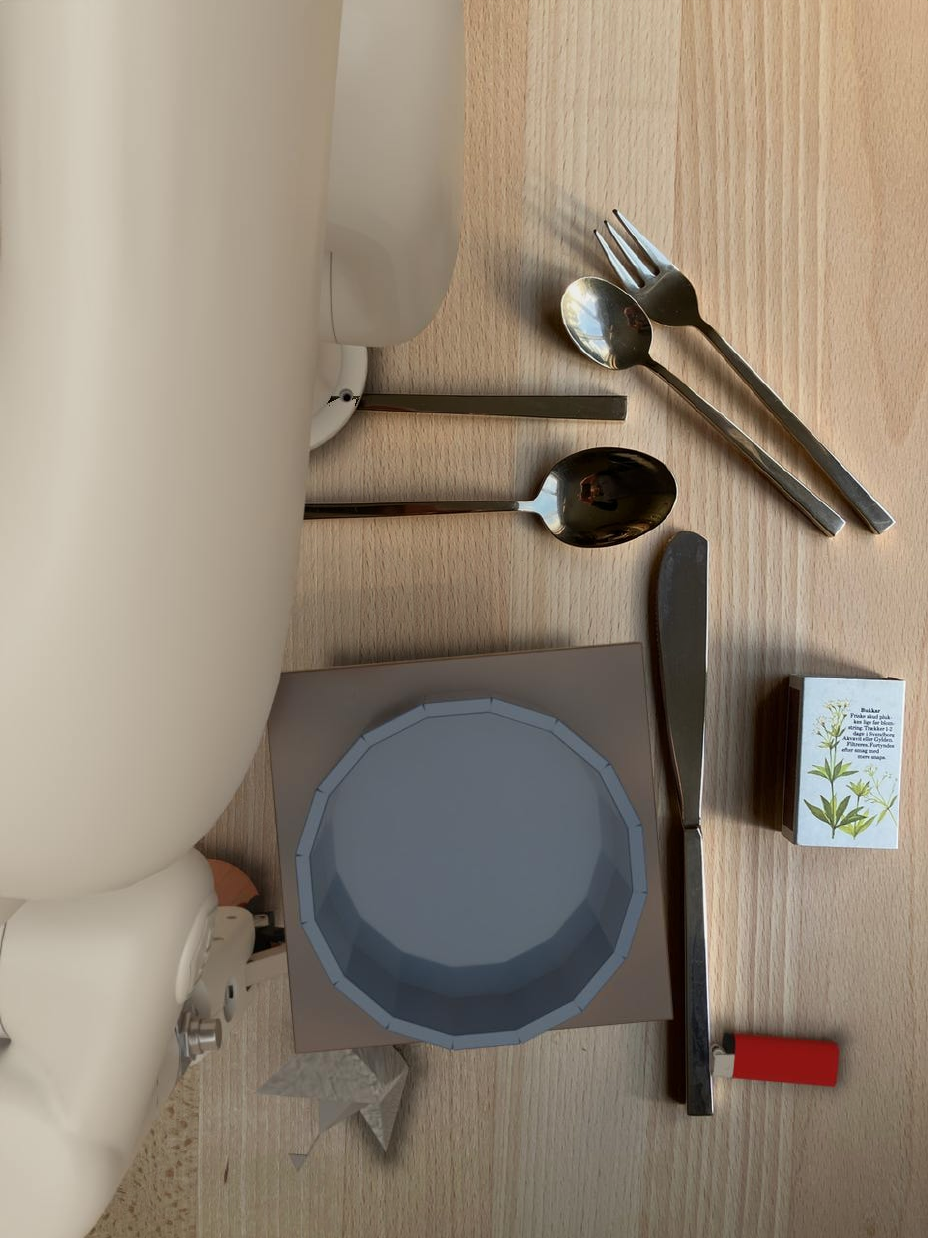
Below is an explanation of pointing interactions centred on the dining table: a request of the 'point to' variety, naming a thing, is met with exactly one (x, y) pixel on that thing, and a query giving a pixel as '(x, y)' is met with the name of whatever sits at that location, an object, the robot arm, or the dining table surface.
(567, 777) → the bowl
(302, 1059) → the grey origami bird
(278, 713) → the stand
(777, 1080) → the lighter
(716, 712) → the dining table surface
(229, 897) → the cup
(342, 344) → the robot arm
